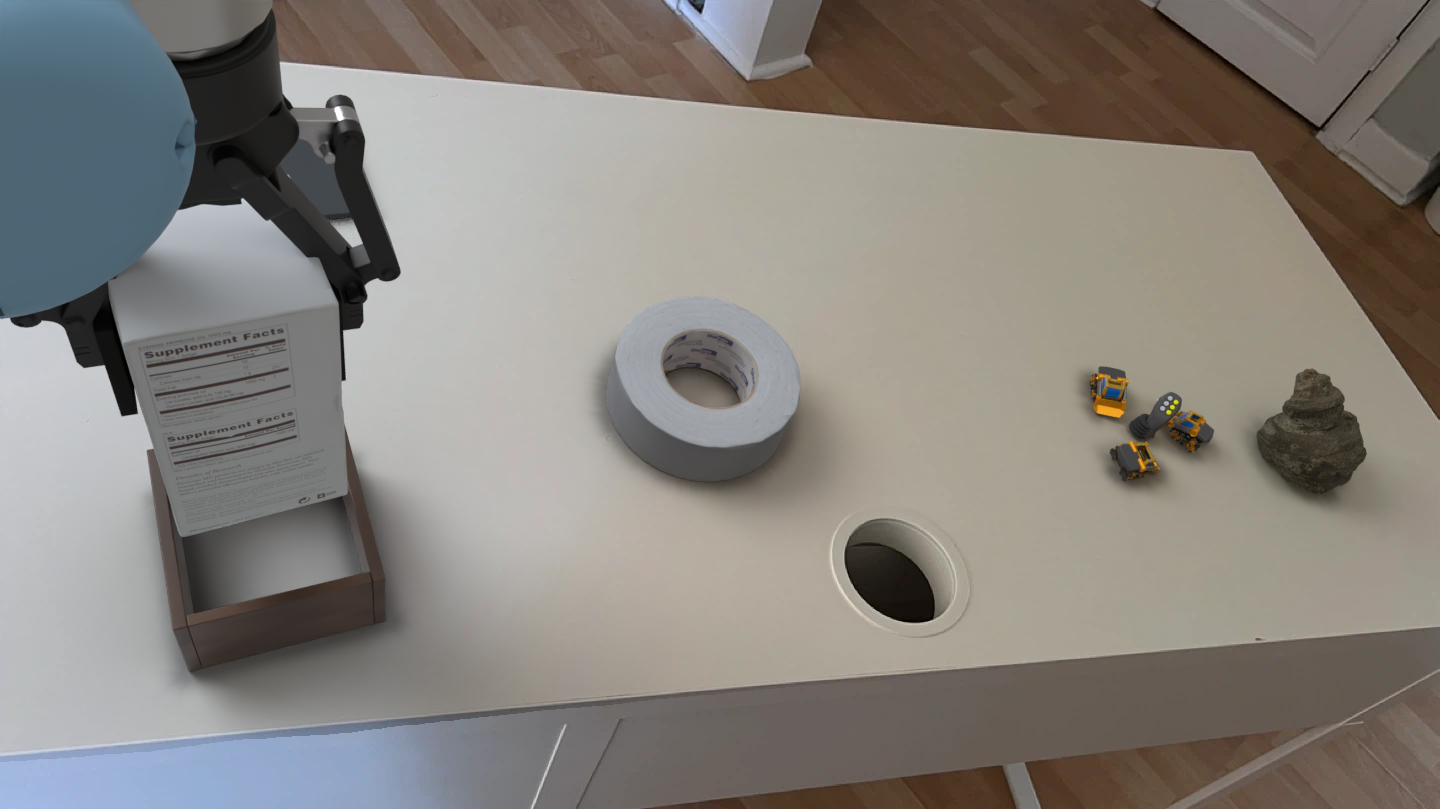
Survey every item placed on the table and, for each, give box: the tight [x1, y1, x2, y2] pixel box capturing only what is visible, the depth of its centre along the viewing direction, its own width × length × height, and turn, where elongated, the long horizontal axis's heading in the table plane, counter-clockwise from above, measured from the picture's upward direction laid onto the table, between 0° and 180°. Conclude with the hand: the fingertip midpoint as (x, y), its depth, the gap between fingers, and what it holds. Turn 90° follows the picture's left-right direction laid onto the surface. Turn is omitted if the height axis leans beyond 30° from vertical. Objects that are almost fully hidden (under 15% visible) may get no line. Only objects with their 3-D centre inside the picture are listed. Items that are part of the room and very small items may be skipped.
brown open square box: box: [146, 422, 387, 672], centre depth 70 cm, size 12×13×6 cm
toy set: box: [1089, 365, 1215, 482], centre depth 96 cm, size 12×11×5 cm
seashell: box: [1256, 367, 1401, 506], centre depth 98 cm, size 11×12×10 cm
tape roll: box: [605, 295, 802, 483], centre depth 87 cm, size 15×15×5 cm
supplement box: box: [108, 175, 348, 538], centre depth 55 cm, size 10×9×17 cm
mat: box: [280, 139, 352, 221], centre depth 92 cm, size 18×12×1 cm, turn 113°
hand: (234, 378), depth 56 cm, fingers closed on supplement box, 9 cm apart
